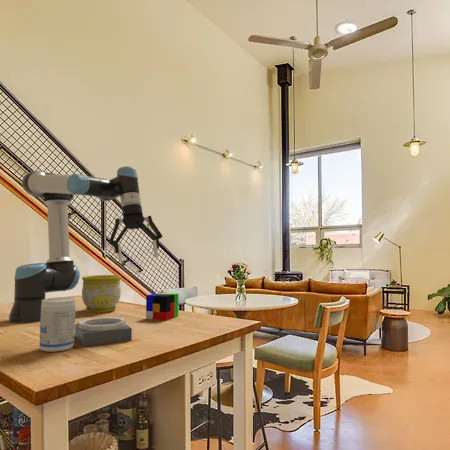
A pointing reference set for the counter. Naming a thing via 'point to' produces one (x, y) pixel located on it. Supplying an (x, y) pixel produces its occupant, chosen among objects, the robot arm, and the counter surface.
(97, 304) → the flowerpot
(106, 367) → the counter surface
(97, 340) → the grey square ring block
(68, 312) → the supplement tub
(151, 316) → the puzzle toy
